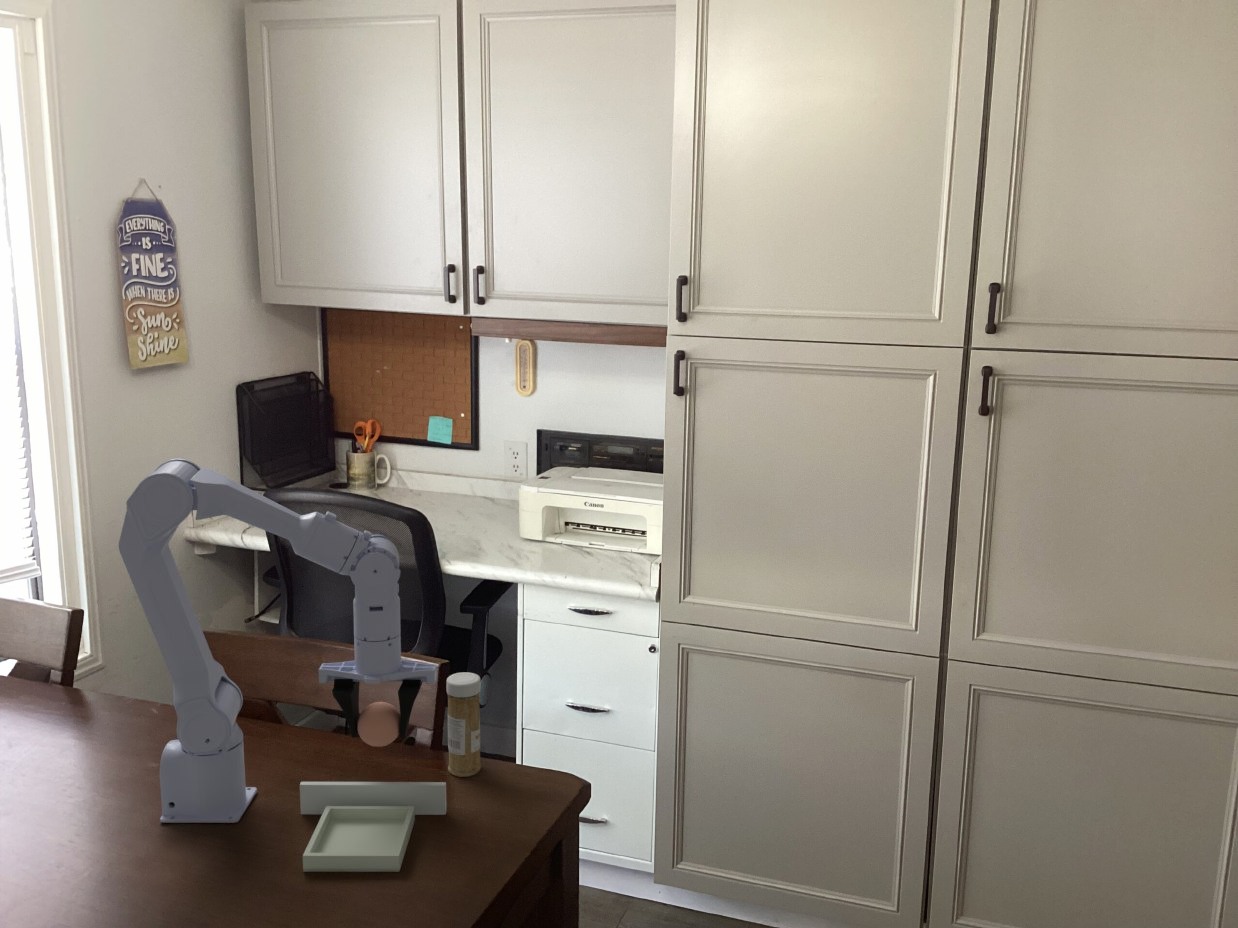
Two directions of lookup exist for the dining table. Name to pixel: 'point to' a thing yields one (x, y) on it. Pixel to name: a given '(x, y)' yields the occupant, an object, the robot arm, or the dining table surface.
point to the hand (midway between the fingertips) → (379, 733)
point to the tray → (360, 839)
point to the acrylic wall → (374, 795)
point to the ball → (379, 724)
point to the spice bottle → (463, 723)
